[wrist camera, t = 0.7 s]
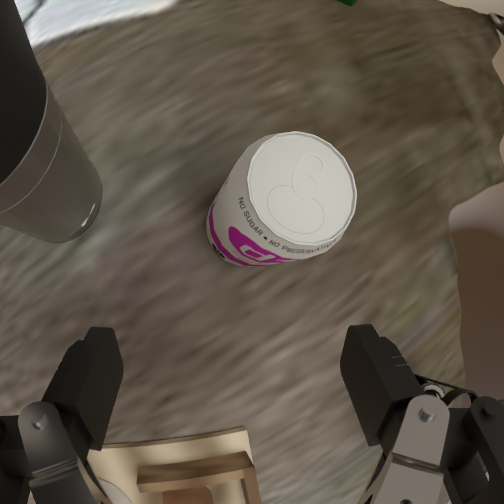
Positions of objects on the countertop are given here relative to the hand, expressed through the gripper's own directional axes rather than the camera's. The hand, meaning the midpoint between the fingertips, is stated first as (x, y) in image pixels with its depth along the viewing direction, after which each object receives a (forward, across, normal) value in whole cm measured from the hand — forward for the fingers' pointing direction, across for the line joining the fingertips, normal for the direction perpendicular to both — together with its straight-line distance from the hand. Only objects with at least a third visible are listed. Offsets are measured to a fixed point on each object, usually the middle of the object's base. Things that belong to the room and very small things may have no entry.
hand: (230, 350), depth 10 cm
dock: (+6, +10, +29) cm, 32 cm away
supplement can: (+23, -2, +4) cm, 23 cm away
